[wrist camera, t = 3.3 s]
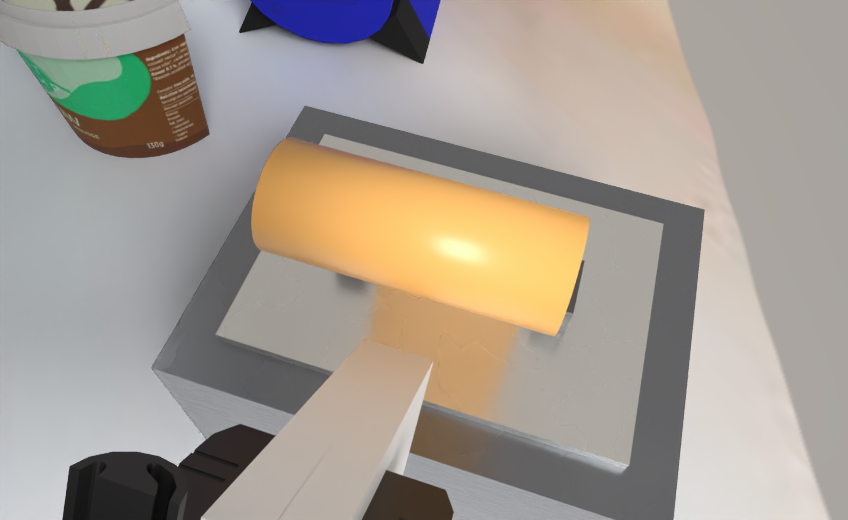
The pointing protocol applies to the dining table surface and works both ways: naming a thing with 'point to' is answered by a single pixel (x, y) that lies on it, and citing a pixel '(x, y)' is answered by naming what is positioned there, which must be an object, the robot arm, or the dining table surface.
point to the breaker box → (472, 346)
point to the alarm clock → (351, 21)
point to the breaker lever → (419, 234)
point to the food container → (112, 70)
